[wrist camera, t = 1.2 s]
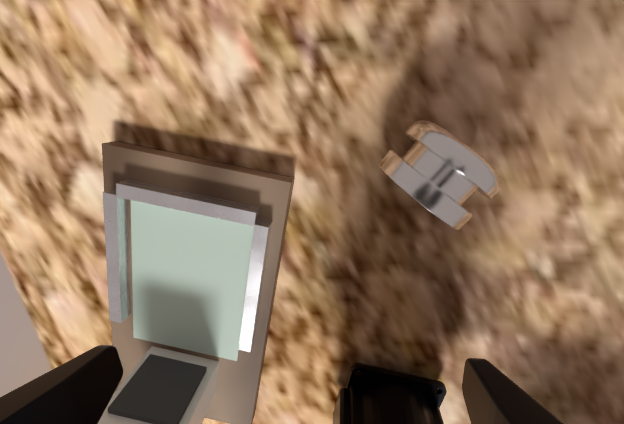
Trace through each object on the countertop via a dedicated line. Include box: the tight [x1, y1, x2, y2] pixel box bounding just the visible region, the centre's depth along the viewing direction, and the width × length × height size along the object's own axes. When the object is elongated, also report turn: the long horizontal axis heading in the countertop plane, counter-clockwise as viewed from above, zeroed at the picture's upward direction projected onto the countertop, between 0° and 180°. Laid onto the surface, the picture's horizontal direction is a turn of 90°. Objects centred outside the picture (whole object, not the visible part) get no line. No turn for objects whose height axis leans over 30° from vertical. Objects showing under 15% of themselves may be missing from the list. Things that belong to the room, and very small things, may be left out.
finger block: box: [98, 346, 219, 424], centre depth 20 cm, size 5×3×6 cm
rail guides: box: [103, 179, 273, 352], centre depth 19 cm, size 10×10×1 cm
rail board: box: [102, 141, 294, 424], centre depth 21 cm, size 11×20×1 cm, turn 169°
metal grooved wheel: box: [378, 121, 501, 230], centre depth 15 cm, size 5×3×5 cm, turn 54°
